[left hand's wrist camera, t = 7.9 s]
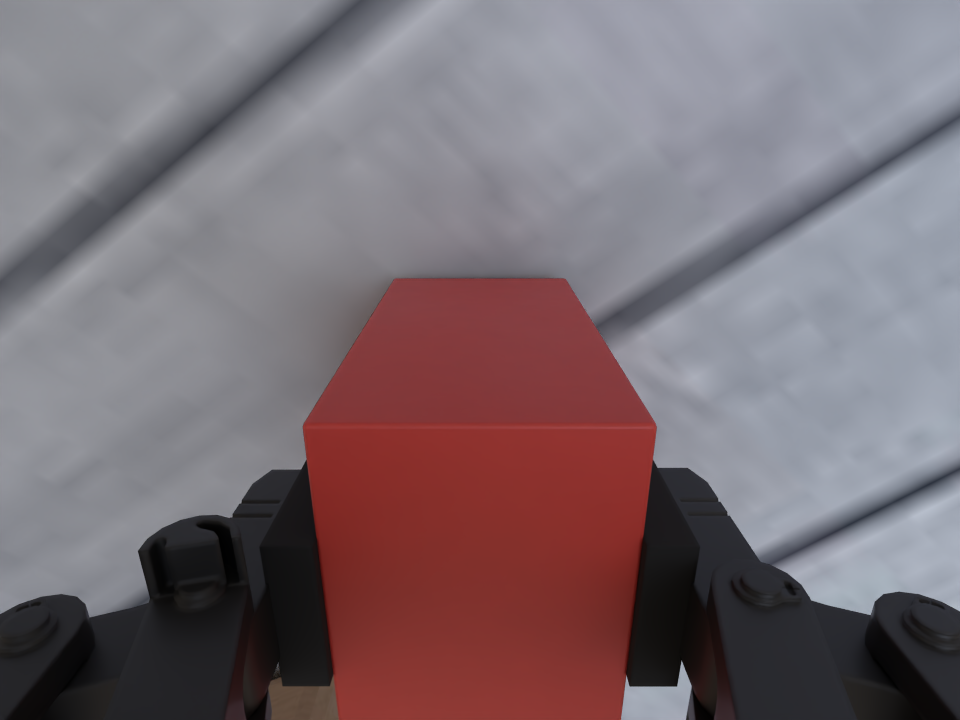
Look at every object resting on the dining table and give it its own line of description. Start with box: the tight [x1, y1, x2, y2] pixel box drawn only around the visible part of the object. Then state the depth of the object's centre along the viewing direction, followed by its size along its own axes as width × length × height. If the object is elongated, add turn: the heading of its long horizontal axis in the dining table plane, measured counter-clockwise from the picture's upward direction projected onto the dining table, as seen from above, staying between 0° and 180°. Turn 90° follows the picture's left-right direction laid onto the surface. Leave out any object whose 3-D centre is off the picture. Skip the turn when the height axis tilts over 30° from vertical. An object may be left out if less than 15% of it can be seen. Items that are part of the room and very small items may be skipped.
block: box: [303, 279, 657, 720], centre depth 13 cm, size 5×6×9 cm
